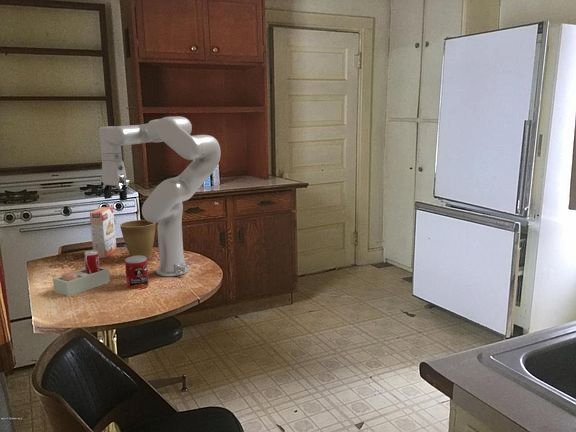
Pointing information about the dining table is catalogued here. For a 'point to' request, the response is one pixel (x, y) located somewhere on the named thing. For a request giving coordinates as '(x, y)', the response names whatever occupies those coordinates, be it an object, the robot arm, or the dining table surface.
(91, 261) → the soda can
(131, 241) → the plant pot
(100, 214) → the cracker box
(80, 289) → the caddy
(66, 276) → the brown egg
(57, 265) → the dining table surface
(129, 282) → the canned food
